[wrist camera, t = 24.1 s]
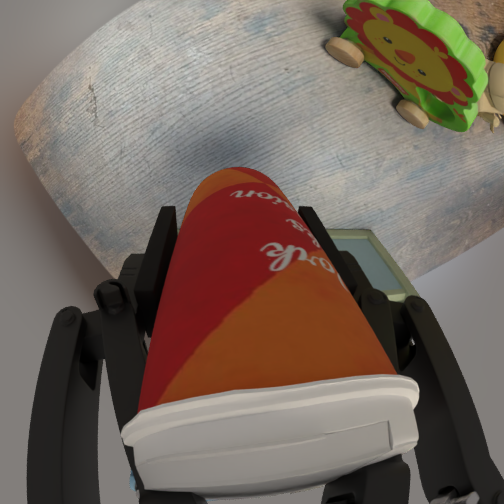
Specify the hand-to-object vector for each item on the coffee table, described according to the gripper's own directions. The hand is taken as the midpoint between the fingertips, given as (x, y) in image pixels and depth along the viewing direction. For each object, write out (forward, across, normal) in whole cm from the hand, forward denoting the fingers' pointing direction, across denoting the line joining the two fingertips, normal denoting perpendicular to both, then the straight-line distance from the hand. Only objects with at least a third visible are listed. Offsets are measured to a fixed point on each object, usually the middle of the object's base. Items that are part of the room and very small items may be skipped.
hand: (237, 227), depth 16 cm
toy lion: (+14, +14, +12) cm, 23 cm away
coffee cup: (+2, 0, 0) cm, 2 cm away
